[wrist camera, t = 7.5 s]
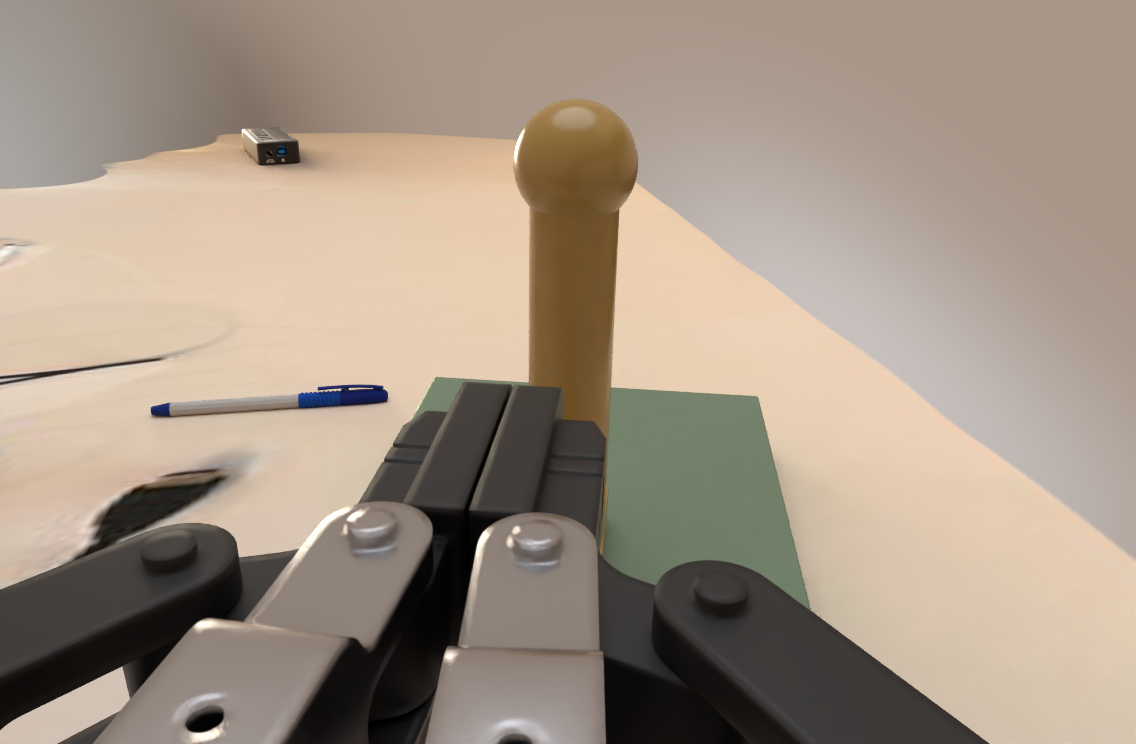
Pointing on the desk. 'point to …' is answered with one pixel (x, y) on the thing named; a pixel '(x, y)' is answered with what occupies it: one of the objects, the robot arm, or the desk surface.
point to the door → (685, 484)
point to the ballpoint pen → (277, 401)
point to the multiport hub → (270, 145)
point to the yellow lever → (574, 250)
